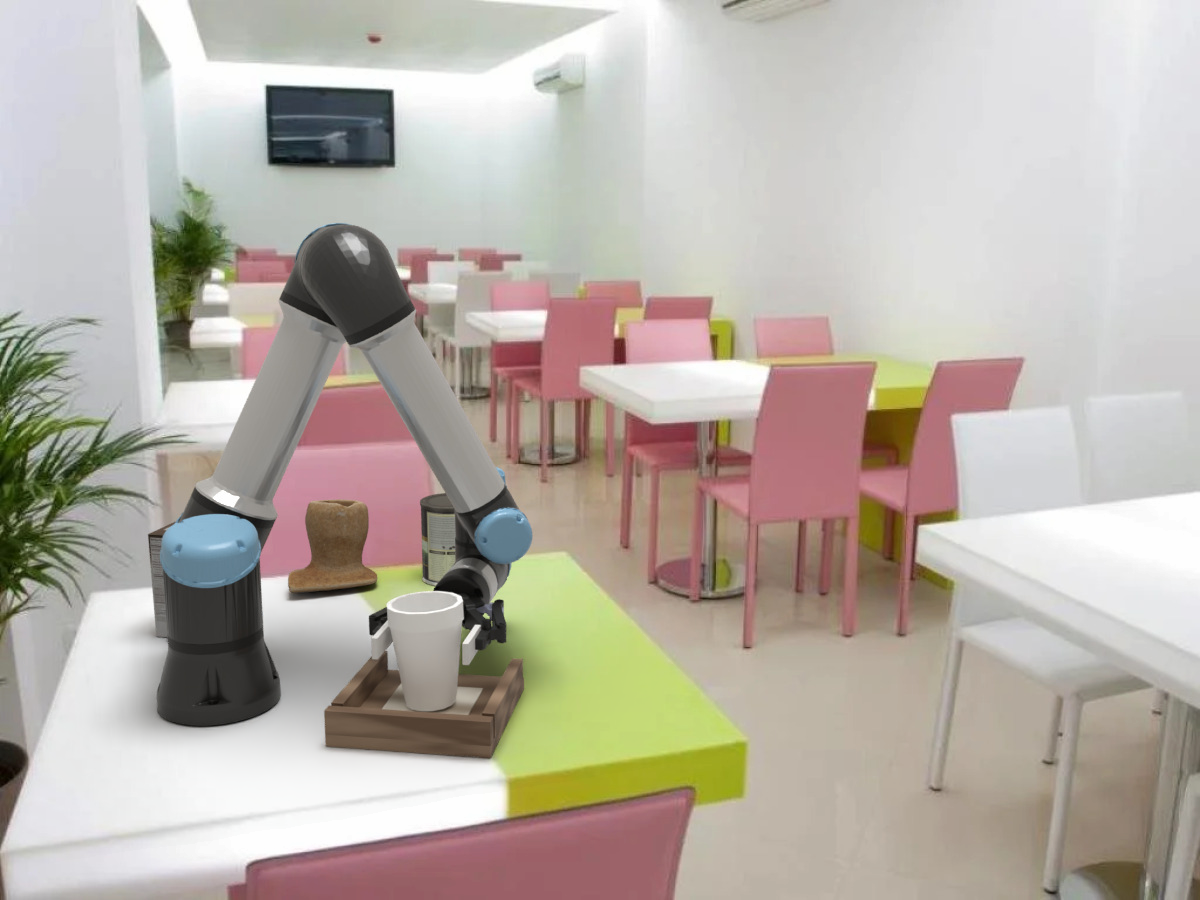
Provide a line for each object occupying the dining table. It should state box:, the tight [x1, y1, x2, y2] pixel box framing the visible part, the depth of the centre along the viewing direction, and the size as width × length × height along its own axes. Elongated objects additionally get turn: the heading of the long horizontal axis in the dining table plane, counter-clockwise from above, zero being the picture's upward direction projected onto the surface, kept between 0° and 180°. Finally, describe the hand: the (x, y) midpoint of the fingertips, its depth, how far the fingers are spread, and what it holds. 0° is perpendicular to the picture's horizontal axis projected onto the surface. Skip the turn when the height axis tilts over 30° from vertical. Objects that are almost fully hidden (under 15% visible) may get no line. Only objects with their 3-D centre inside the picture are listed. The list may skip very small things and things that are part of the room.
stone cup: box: [287, 499, 378, 594], centre depth 190 cm, size 15×12×15 cm
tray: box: [323, 650, 525, 759], centre depth 142 cm, size 20×20×4 cm
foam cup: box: [386, 590, 464, 711], centre depth 141 cm, size 10×9×13 cm
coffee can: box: [419, 492, 455, 587], centre depth 195 cm, size 10×10×14 cm
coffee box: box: [147, 521, 176, 638], centre depth 170 cm, size 9×6×16 cm
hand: (419, 651), depth 136 cm, fingers open, 11 cm apart
